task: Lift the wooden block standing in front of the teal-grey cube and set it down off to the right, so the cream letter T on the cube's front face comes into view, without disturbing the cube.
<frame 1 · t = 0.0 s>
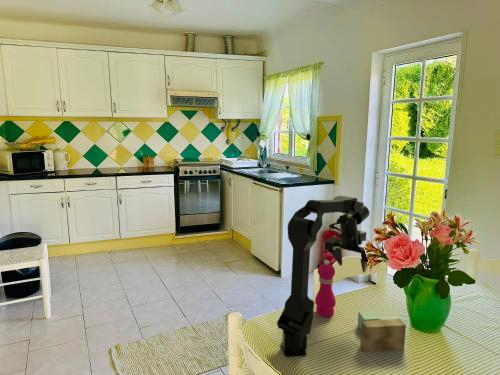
hand: (352, 268, 127), 15 cm above the table, tool pointing down, fingers open, 9 cm apart
letter cube: (368, 329, 116), on the table
wooden block: (382, 347, 106), on the table
pepper mill: (324, 313, 126), on the table
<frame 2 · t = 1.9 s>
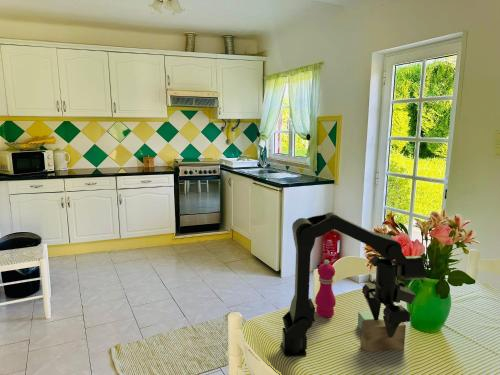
hand: (382, 328, 105), 6 cm above the table, tool pointing down, fingers open, 9 cm apart
nothing on the table moved.
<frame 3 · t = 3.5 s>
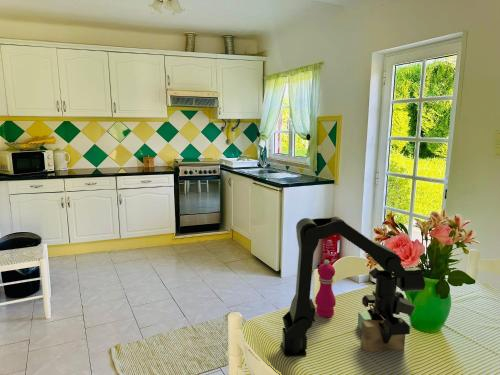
hand: (382, 339, 105), 3 cm above the table, tool pointing down, fingers closed on wooden block, 3 cm apart
wooden block: (382, 347, 106), on the table, touching gripper
everything else where it was.
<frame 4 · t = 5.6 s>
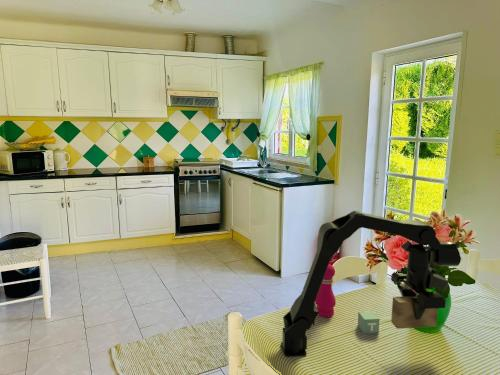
hand: (414, 315, 102), 11 cm above the table, tool pointing down, fingers closed on wooden block, 3 cm apart
wooden block: (413, 324, 103), point 8 cm above the table, touching gripper
everything else where it was.
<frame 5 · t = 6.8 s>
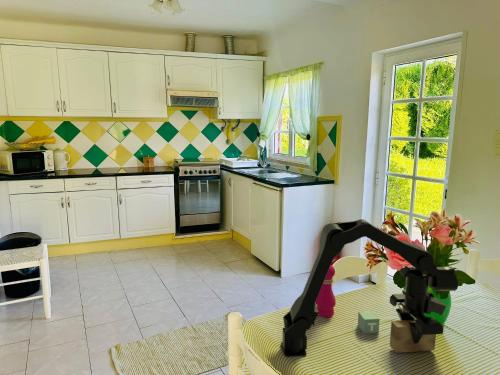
hand: (412, 339, 104), 4 cm above the table, tool pointing down, fingers closed on wooden block, 3 cm apart
wooden block: (411, 347, 104), point 1 cm above the table, touching gripper
everything else where it was.
when the fingers open (3 cm above the table, at t = 7.6 s): wooden block stays where it is, on the table.
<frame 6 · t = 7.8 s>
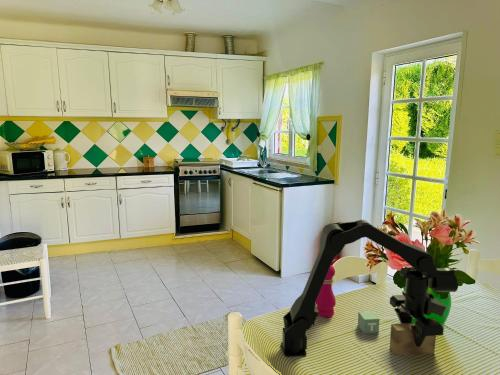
hand: (412, 340, 104), 3 cm above the table, tool pointing down, fingers open, 6 cm apart
wooden block: (411, 350, 104), on the table
everything else where it was.
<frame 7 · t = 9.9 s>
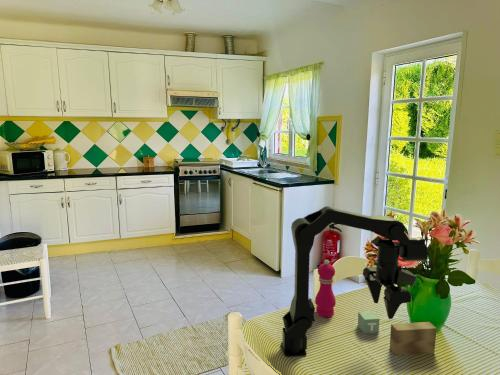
hand: (382, 310, 104), 12 cm above the table, tool pointing down, fingers open, 9 cm apart
nothing on the table moved.
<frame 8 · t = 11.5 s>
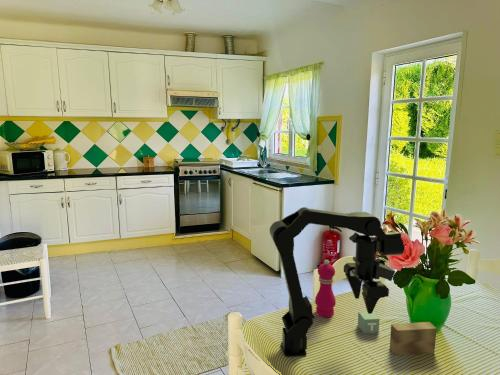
hand: (363, 305, 105), 13 cm above the table, tool pointing down, fingers open, 9 cm apart
nothing on the table moved.
at the end: wooden block inside the target area (0.0 cm from its centre), on the table; wooden block tilted 0°; letter cube moved 0.1 cm from its start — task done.
